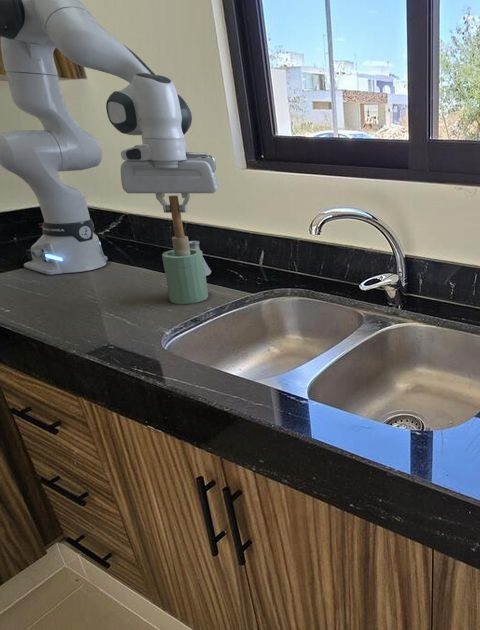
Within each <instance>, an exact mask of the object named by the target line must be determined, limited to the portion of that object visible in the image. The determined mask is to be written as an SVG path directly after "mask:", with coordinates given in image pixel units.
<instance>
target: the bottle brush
mask: <svg viewBox="0 0 480 630" xmlns="http://www.w3.org/2000/svg"><path fill="white" fill-rule="evenodd" d="M168 202H169V204H170V208H171V213H170V214H171V218H172V220H171V221H172V226H173V232H174V236H172V237H171V240H172V248H173V250H174V254H175V256H188V255H191V253H190V247H189V241H190V240H189V236H187V235H185V232H184V226H183V220H182V213H180V212H179V208H178V205H180V200H179V195H176V194H175V195H174V194H173V195H168Z"/></svg>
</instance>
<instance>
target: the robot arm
mask: <svg viewBox="0 0 480 630" xmlns="http://www.w3.org/2000/svg"><path fill="white" fill-rule="evenodd" d="M0 49H1V50H0V51H1V59H2V64H3V68H4V71H5V76H6V79H7V83H8V88H9V92H10V96H11V100H12V102H13V103H14V105H15V106H16V107H17V108H18V109H19V110H20V111H22V112H23V113H26V114H27V115H30V116H32V117H35V118H36V119H38V121H40V123H41V124H42V127H43V129H42V130H40V129H39V130H38V129H37V130H36V129H35V130H33V129H27V130H25V129H17V130H16V129H15V130H11V131H9V130H8V131H5V132H0V166H1V167H2V168H3V169H5V170H6V171H8V172H10V173H11V174H14V175H16V176H17V177H19V178H20V179H21V180H22V181H24V182H25V183H26V184H27V185H28V187H29V188H30V189H31V190H32V191H33V194H34V195H35V197H36V200H37V202H38V205H39V208H40V211H41V214H42V219H43V222H41V223H38V225H39V228H42V235H41V236H40V237H39V238H38V239H37V240H36V242H34V243H33V244H32V245H31V247H30V248H29V249H26V250H25V253H24V254H23V255H22V257H21V262H25V260H26V258H27V259H28V260H29V261H27V262H25V263H23V267H24V268H26V269H28V270H33V271H35V272H38V273H41V274H45V275H49V276H50V275H58V274H59V275H60V274H71V273H82V272H88V271H92V270H97V269H100V268H103V267H104V266H106V265H107V264H108V263H107V261H108V260H109V258H108V256H106V255H105V254H104V251H103V248H102V244H101V241H100V239H99V237H98V235H97V234H96V233H95V227H94V226H95V225H94V221H93V219H92V218H91V217H90V212H89V208H88V203H87V200H86V196H85V194H84V193H83V191H82V190H80V189H79V188H77V187H75V186H73V185H71V184H69V183H64V182H63V181H62V179H60V176H59V174H58V172H71V171H72V172H75V171H84V170H88V169H92V168H95V167H98V166H99V165H100V164H101V162H102V159H103V149H102V147H101V144H100V142H99V141H98V140H97V139H96V137H95V136H93V135H92V134H91V133H89V132H87V131H86V130H85V129H83V127H82V126H80V125H79V124H78V123H77V122H76V120H75V119H74V118H73V116H72V114H71V113H70V111H69V109H68V107H67V104H66V102H65V97H64V95H63V91H62V87H61V83H60V78H59V75H58V69H57V67H56V63H55V59H54V58H55V57H54V52H55V49H57V50H58V52H60V54H62V55H63V56H64V57H65V58H66V59H68V60H69V61H71V63H74V64H75V65H78V66H79V67H83V68H87V69H90V70H95V71H98V72H102V73H105V74H109V75H112V76H115V77H117V78H120V79H122V80H124V81H126V82H127V83H128V85H127V86H126V87H124V88H122V89H120V90H115V91H113V92H111V94H110V95H109V96H108V98H107V99H106V104H105V109H106V114H107V117H108V121H109V122H110V124H111V125H112V126H113V128H115V130H117V131H118V132H119V133H120V134H124V135H127V136H141V142H142V143H141V144H137V145H134V146H133V147H129V148H126V149H123V150H121V151H120V156H121V159H122V160H123V162H121V164H120V181H121V188H122V190H123V191H124V192H125V193H126V194H155V198H156V200H157V201H158V202H159V204H160V205H161V206H162V210H163V213H164V214H169V213H170V214H171V208H170V203H168V202H167V201H166V199H164V198H165V197H166V194H181V198H182V199H183V201H182V203H179V205H178V208H179V212H180V213H181V214H183V213H187V212H188V203H189V200H190V199H191V194H214V193H216V192H217V191H218V188H219V186H218V180H217V176H216V173H215V171H216V169H217V166H216V160H215V158H214V157H213V156H212V155H211V154H208V152H192V151H191V152H189V151H188V150H187V143H186V137H185V134H186V133H187V132H188V131H189V130H190V128H191V126H192V122H193V115H192V111H191V108H190V106H189V105H188V103H187V102H186V101H185V100H184V98H182V95H181V96H180V94H178V92H177V89H176V87H175V84H174V81H172V80H171V79H170V78H168V77H167V76H163V75H159V74H155V72H153V71H152V69H150V68H149V67H150V66H148V65H147V64H146V63H145V62H144V61H143V60H142V59H141V58H140V57H139V56H138V55H137V54H136V53H135V52H134V51H133V50H132V49H130V48H129V47H127V46H126V45H125V44H123V43H122V42H121V41H119V40H118V39H116V37H114V36H113V35H112V34H111V33H110V32H109V31H107V30H106V29H105V28H104V27H103V26H102V25H101V24H100V23H99V22H98V21H97V20H96V18H95V17H94V16H93V14H92V13H91V11H90V10H89V9H88V8H87V7H86V6H85V5H84V4H83V3H82V2H81V1H80V0H0Z"/></svg>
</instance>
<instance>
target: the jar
mask: <svg viewBox="0 0 480 630" xmlns="http://www.w3.org/2000/svg"><path fill="white" fill-rule="evenodd" d="M190 253H191V255H188V256H175V254H174V249H171V250H167V251H164V252H163V253H161V258H162V263H163V264H162V265H163V269H164V274H165V280H166V286H167V292H168V297H169V300H170V302H171V303H172V304H177V305H191V304H196V303H197V304H198V303H200V302H204V301H205V300H207V299H208V298H209V290H208V283H207V276H206V275H205V268H204V261H203V258H204V254H203V250H201V249H200V250H198V249H190Z"/></svg>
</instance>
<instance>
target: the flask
mask: <svg viewBox="0 0 480 630" xmlns="http://www.w3.org/2000/svg"><path fill="white" fill-rule="evenodd" d="M189 247H190V249H198V250H201V249H200V241H199V240H189ZM203 261H204V268H205V275H206V277H207V276H210V275H211V273H212V270H211V268H210V267H209V266H208V265H209V264H207V261H206V260H205V258H204V257H203Z"/></svg>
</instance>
